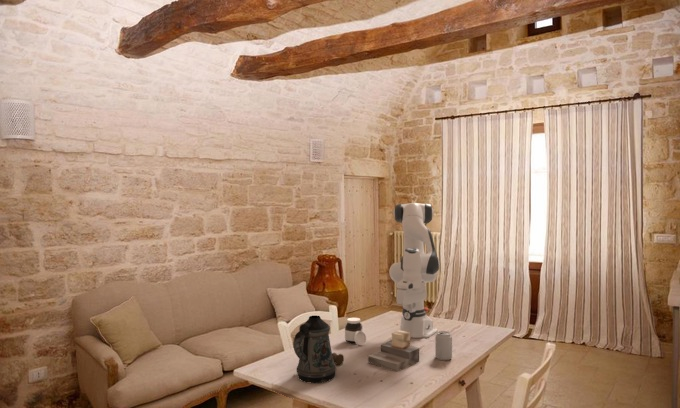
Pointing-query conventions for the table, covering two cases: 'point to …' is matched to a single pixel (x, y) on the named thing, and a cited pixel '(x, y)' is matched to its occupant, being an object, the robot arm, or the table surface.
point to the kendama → (338, 358)
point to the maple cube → (401, 339)
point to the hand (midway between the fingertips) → (412, 312)
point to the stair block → (394, 357)
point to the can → (443, 345)
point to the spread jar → (354, 332)
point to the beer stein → (314, 351)
